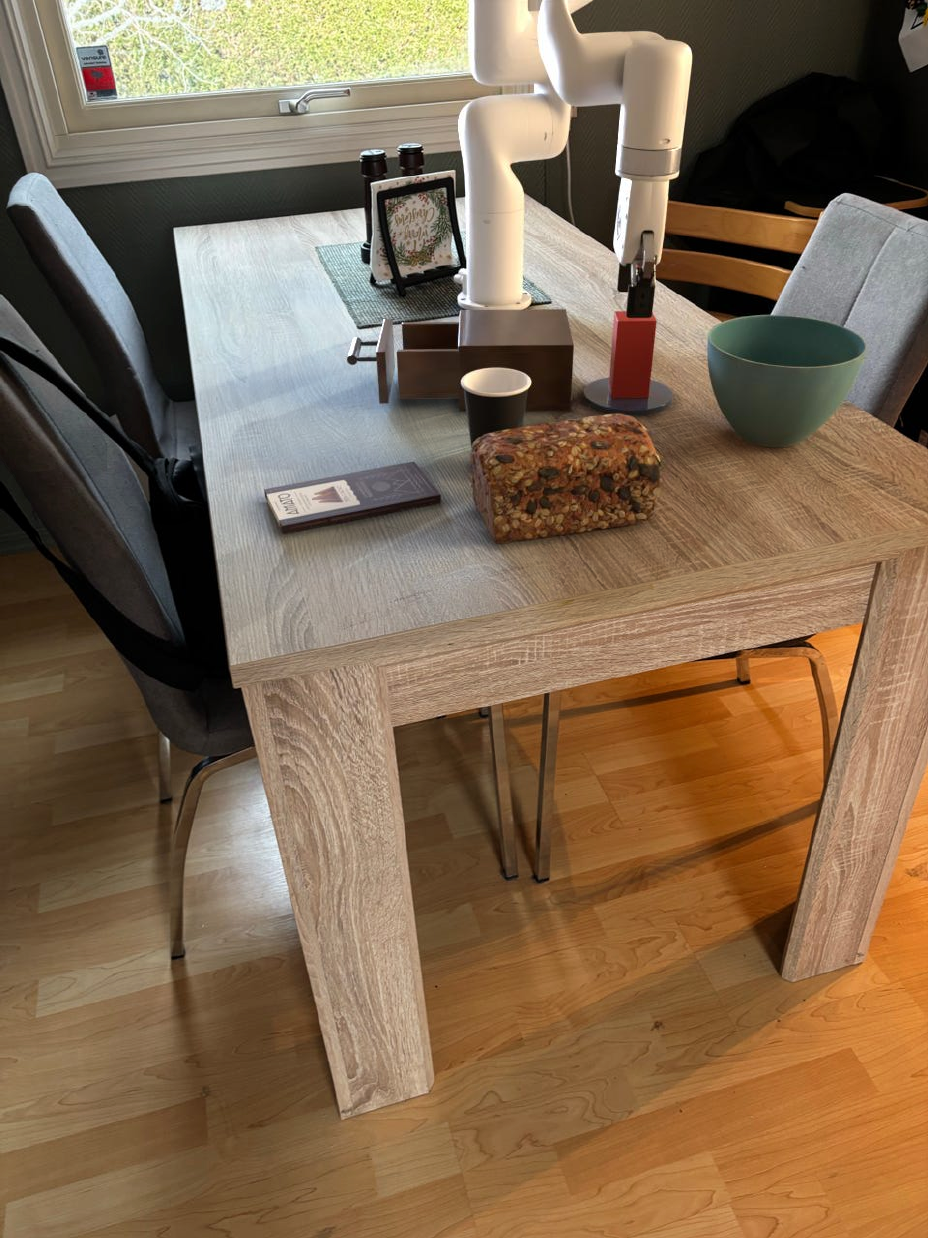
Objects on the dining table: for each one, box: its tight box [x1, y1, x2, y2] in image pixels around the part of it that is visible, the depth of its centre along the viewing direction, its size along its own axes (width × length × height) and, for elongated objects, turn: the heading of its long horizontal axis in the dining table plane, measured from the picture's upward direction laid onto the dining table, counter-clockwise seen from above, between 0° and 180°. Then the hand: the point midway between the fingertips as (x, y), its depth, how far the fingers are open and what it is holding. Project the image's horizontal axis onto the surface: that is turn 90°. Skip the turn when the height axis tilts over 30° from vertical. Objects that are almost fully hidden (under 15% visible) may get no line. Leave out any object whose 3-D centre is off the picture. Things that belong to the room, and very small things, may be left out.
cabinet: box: [458, 308, 575, 413], centre depth 133 cm, size 15×14×9 cm
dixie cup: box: [461, 368, 531, 449], centre depth 113 cm, size 8×8×11 cm
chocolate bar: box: [263, 461, 442, 534], centre depth 110 cm, size 9×1×18 cm
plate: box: [583, 376, 674, 417], centre depth 133 cm, size 12×12×1 cm
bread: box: [469, 413, 664, 545], centre depth 104 cm, size 19×11×10 cm, turn 103°
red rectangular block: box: [608, 310, 657, 398], centre depth 130 cm, size 5×4×10 cm
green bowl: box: [706, 314, 868, 448], centre depth 120 cm, size 18×18×12 cm
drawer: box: [346, 318, 460, 405], centre depth 134 cm, size 18×13×7 cm
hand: (633, 303), depth 126 cm, fingers open, 9 cm apart
